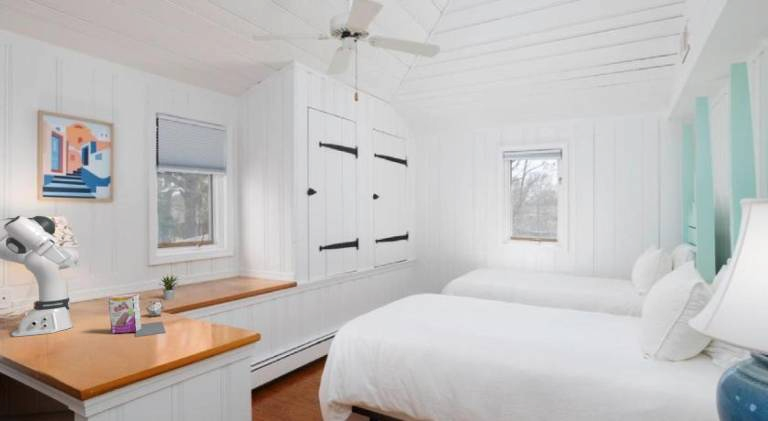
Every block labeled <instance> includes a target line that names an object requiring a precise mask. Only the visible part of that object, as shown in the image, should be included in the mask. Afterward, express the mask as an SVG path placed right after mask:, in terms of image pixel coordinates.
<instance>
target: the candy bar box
mask: <svg viewBox="0 0 768 421" xmlns="http://www.w3.org/2000/svg"><path fill="white" fill-rule="evenodd" d="M108 306H109V318H110V330H111V334H112V335H115V334H126V333H127V334H128V333H136V332H137V331H139V330H141V324H142V320H141V319H142V318H141V317H142V316H141V308H140V307H141V306H140V294H137V293H136V294H135V293H134V294H123V295H121V294H120V295H113V296H111V297H108Z"/></svg>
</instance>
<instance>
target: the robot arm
mask: <svg viewBox="0 0 768 421" xmlns="http://www.w3.org/2000/svg"><path fill="white" fill-rule="evenodd" d="M55 232H56V223H55V222H54V221H53V220H52V219H51V218H49V217H47V216H44V215H35V216H33V217H26V216H23V215H18V216H15V217H8V218H3V219H0V259H1V260H4V261H7V262H11V263H15V264H20V265H24V267H25V269H26V270H28V271H29V272H31V274H33V276H34V277H35V280H36V282H37V285H38V286H37V287H38V300H35V301H34V303H33V310H32V311H30V312H29V313H27V315H25V316H24V317H22V319H20V320H19V323H18V325H17V326H18V327H17V329H16V330H14V331H12V333H11V337H13V338H15V337H27V336H37V335H45V334H53V333H58V332H60V331H64V330H68V329H70V328H73V327H74V325H73V322H72V319H71V315H70V307H71V306H70V304H71V303H70V297H69V283H68V281H67V280H66V279H64V278H63V277H62V275H61V273H60V270H65V269H69V268H71V269H73V270H75V269H76V268H77V267H78V264H77V263H79V260H80V254H79V252H78V250H77V249H75V248H74V247H69V246H61V245H60V244H59V242H60V240H59V239H57V237H55V236H53V235H54V234H55Z"/></svg>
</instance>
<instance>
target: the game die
mask: <svg viewBox="0 0 768 421" xmlns="http://www.w3.org/2000/svg"><path fill="white" fill-rule="evenodd" d="M145 310H146V311H147V312H148V314H149V317H148V318H151V317H154V316H159V317H162V316H161V314H162V312H163V311H164V310H166V308H164V306H163V305H162V300H160V301H154V302H153V301H151V300H150V301H149V305H148V306H147V308H145Z"/></svg>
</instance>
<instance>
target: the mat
mask: <svg viewBox="0 0 768 421" xmlns="http://www.w3.org/2000/svg"><path fill="white" fill-rule="evenodd" d="M161 334H166V329H165V326H164V322H163V321H156V322H155V321H154V322H147V323H141V330H139V331H137V332H135V338H139V337H146V336H153V335H154V336H155V335H161Z"/></svg>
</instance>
